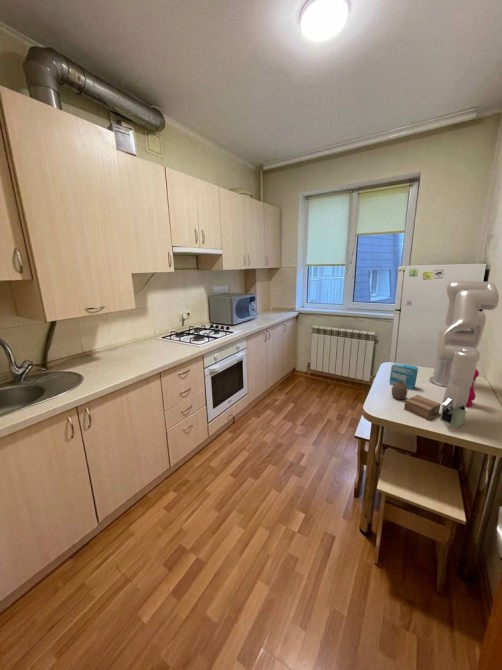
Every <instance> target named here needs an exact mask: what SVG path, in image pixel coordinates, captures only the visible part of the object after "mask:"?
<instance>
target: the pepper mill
mask: <svg viewBox="0 0 502 670" xmlns="http://www.w3.org/2000/svg"><path fill="white" fill-rule="evenodd" d="M479 375H480V372H479V370H478V369H477V368H476V369H475V374H474V378H473V382H472V387H470V391H469V398H468V401H467V404H466V408H467V407H469V408H470V407H472V406H473V401H474V400H475V399H476V393H475V390H474V384H475V383H476V382H477V381H476V380H477V378H478V377H479Z"/></svg>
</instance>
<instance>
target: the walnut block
mask: <svg viewBox="0 0 502 670" xmlns="http://www.w3.org/2000/svg"><path fill="white" fill-rule="evenodd" d="M440 408H441V403H440V402H437V401H435V400H432V399H430V398H426V397H424V396H422V395H419V394H415V395H414V396H412V397H409V398H408V399H405V401H404V407H403V410H405V411H406V412H408V413H411V414H413V415H416V416H417V417H420V418H422V419H424V420H427V421H428V420H429V419H431V418H433V417H435V416H437V415H438V414H439V413H440Z"/></svg>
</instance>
